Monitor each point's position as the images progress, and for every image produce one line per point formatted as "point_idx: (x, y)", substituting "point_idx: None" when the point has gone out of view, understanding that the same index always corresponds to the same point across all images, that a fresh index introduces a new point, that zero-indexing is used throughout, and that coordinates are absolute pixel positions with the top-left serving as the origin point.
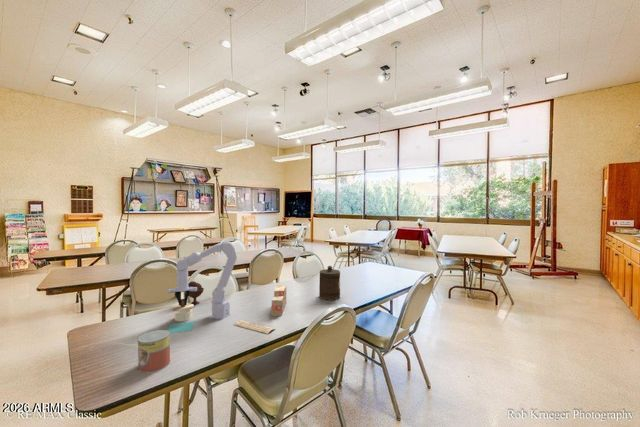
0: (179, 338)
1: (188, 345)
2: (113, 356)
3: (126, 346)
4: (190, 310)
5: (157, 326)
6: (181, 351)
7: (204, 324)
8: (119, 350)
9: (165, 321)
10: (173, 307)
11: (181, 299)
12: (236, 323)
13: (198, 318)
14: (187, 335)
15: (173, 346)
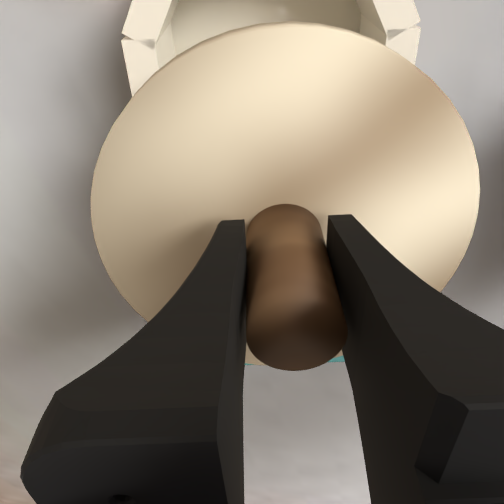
0: (298, 411)
1: (358, 469)
2: (20, 487)
3: (10, 433)
4: (380, 23)
5: (22, 196)
6: (329, 498)
7: (490, 252)
8: (4, 456)
9: (33, 61)
10: (123, 248)
11: (265, 340)
12: None
13: (456, 64)
14: (345, 389)
15: (282, 466)
